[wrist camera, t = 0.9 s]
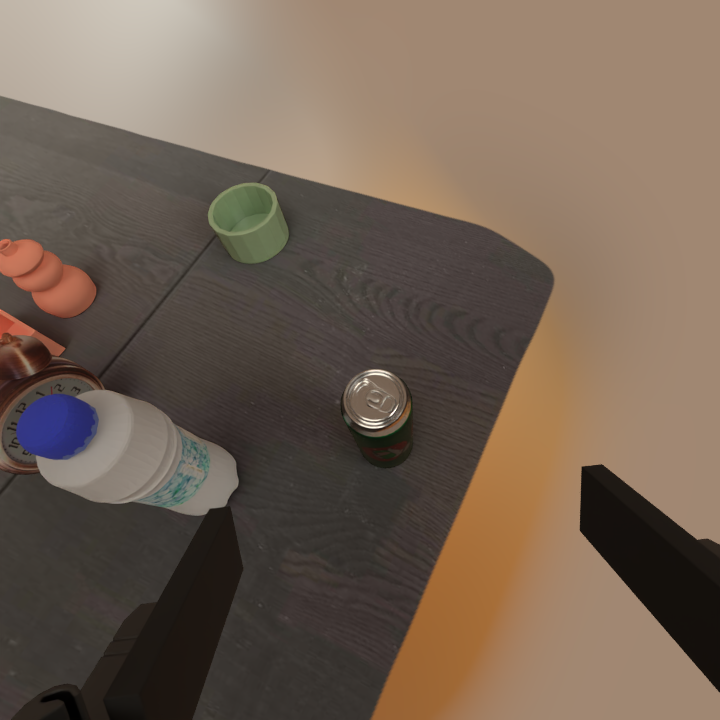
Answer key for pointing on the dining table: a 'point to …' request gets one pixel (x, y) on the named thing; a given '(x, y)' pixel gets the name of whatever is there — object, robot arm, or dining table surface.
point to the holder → (249, 222)
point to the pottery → (43, 286)
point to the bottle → (125, 453)
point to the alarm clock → (31, 391)
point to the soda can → (379, 416)
